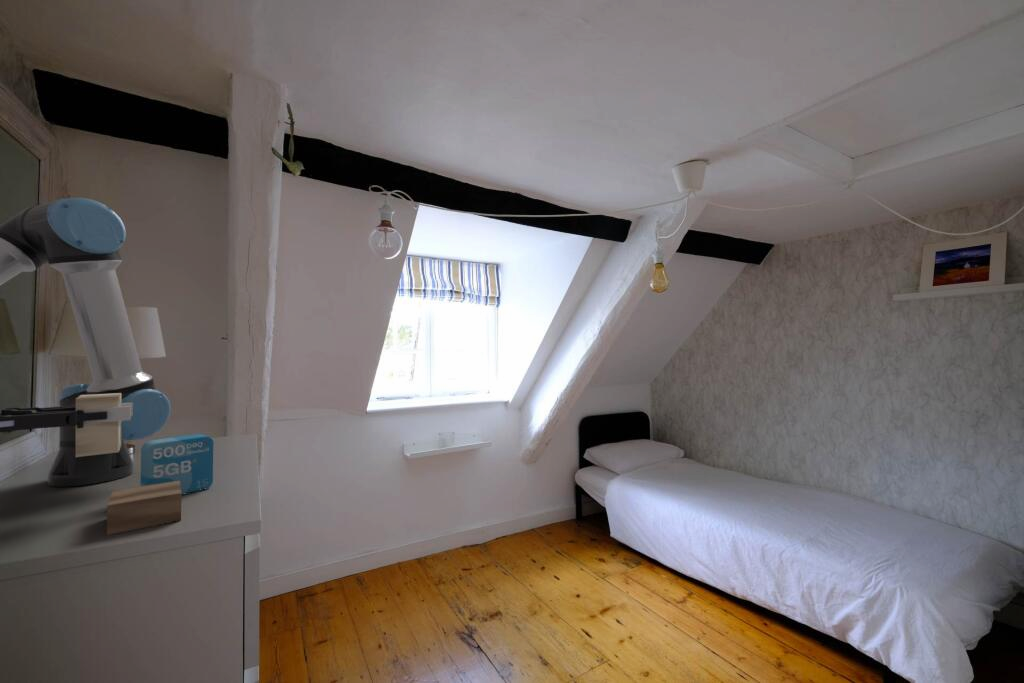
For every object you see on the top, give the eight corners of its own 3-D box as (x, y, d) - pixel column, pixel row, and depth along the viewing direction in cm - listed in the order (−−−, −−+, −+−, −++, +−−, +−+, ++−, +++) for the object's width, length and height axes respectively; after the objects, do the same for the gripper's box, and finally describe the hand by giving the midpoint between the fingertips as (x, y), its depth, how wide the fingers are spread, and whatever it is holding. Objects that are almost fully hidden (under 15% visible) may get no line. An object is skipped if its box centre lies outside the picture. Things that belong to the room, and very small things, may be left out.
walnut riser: (112, 517, 82) (112, 490, 82) (179, 505, 88) (179, 480, 88) (107, 534, 74) (107, 505, 74) (181, 520, 80) (181, 493, 80)
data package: (146, 502, 90) (147, 444, 90) (139, 498, 92) (140, 441, 92) (213, 487, 99) (214, 435, 99) (205, 484, 102) (206, 432, 102)
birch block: (80, 450, 86) (80, 395, 86) (121, 445, 90) (121, 392, 90) (75, 457, 82) (75, 398, 82) (118, 452, 85) (118, 396, 85)
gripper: (-30, 436, 82) (133, 423, 96) (-72, 456, 67) (128, 437, 81) (-29, 396, 82) (134, 389, 96) (-71, 407, 67) (128, 396, 81)
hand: (131, 411), depth 89 cm, fingers closed on birch block, 6 cm apart
